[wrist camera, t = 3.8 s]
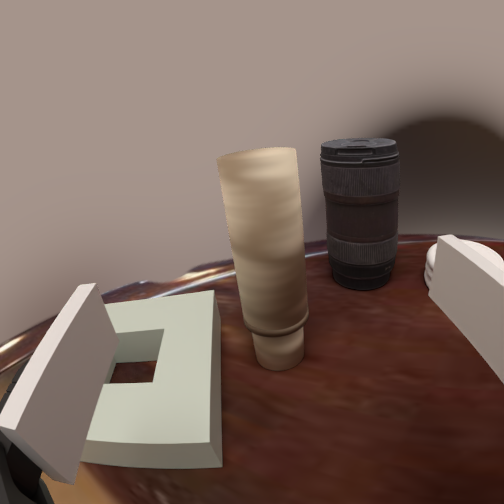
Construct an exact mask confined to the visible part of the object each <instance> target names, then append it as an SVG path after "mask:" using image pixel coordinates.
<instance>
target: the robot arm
mask: <svg viewBox="0 0 504 504" xmlns="http://www.w3.org/2000/svg"><path fill="white" fill-rule="evenodd" d="M428 296H429V297H430V298H431V299H432V300H433V301H434V302H435V303H436V304H437V305H438V306H439V307H440V308H441V310H442V311H443V312H444V313H445V314H446V315H447V316H448V317H449V318H450V320H451V321H452V322H453V323H454V324H455V325H456V326H457V327H458V329H459V330H460V331H461V332H462V333H463V334H464V335H465V337H466V338H467V339H468V340H469V341H470V342H471V344H472V345H473V346H474V347H475V348H476V350H477V351H478V352H479V353H480V354H481V356H482V357H483V358H484V359H485V361H486V362H487V363H488V364H489V366H490V367H491V368H492V369H493V371H494V372H495V373H496V374H497V376H498V377H499V378H500V380H501V381H502V382H503V384H504V272H503V271H502V270H501V269H500V268H498V267H497V266H496V265H494V264H493V263H492V262H490V261H489V260H487V259H486V258H485V257H483V256H482V255H481V254H479V253H478V252H476V251H475V250H474V249H472V248H471V247H469V246H468V245H466V244H465V243H464V242H462V241H461V240H459V239H458V238H456V237H455V236H453V235H452V234H451V235H445V236H438V241H437V248H436V255H435V261H434V268H433V273H432V279H431V284H430V289H429V294H428ZM118 343H119V339H118V337H117V334H116V332H115V330H114V327H113V325H112V322H111V320H110V318H109V315H108V313H107V310H106V308H105V305H104V303H103V300H102V297H101V295H100V292H99V289H98V287H97V284H96V283H92V284H84V285H79V286H78V288H77V289H76V290H75V292H74V293H73V295H72V296H71V298H70V299H69V300H68V302H67V303H66V305H65V306H64V308H63V309H62V310H61V312H60V313H59V315H58V316H57V318H56V319H55V321H54V322H53V324H52V325H51V327H50V328H49V330H48V332H47V333H46V335H45V336H44V338H43V339H42V341H41V343H40V344H39V346H38V347H37V349H36V351H35V352H34V354H33V356H32V357H31V359H30V360H28V361H27V362H26V363H25V364H24V365H23V366H22V367H21V368H20V369H19V370H18V371H17V373H16V375H15V376H14V378H13V380H12V384H10V385H9V387H8V389H7V390H6V391H7V393H5V394H4V396H3V398H2V400H1V402H0V504H54V502H53V500H52V497H51V495H50V493H49V491H48V488H47V486H46V484H45V483H44V481H43V480H42V479H41V478H40V476H41V473H42V471H43V472H44V473H46V474H47V475H48V476H49V477H50V478H52V479H53V480H55V481H59V482H63V483H67V484H71V485H74V483H75V478H76V474H77V471H78V467H79V463H80V459H81V456H82V452H83V448H84V445H85V441H86V438H87V434H88V431H89V428H90V425H91V421H92V418H93V415H94V412H95V409H96V406H97V402H98V399H99V396H100V393H101V391H102V388H103V385H104V382H105V379H106V376H107V373H108V370H109V368H110V365H111V362H112V359H113V357H114V354H115V351H116V349H117V346H118Z"/></svg>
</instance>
